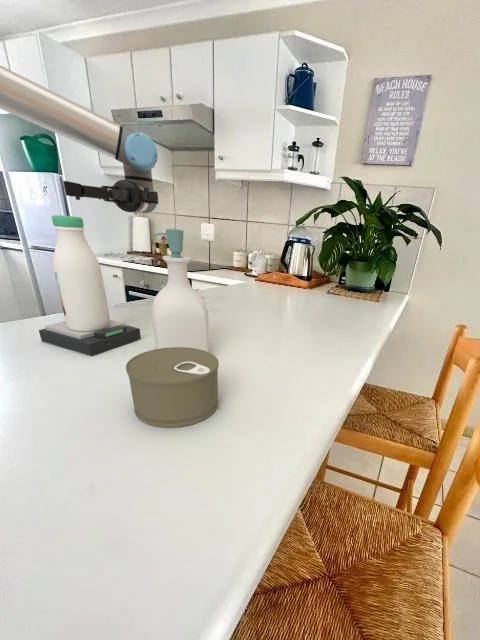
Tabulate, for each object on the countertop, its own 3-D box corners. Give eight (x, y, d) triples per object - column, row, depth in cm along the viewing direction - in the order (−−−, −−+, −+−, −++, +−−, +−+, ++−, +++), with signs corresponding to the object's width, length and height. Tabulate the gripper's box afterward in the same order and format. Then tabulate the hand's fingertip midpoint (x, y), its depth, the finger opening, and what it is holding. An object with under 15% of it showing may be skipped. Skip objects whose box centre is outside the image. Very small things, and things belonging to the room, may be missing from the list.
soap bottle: (158, 346, 67) (145, 225, 57) (205, 345, 70) (201, 229, 60) (157, 365, 59) (141, 227, 49) (210, 362, 62) (206, 232, 52)
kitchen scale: (41, 341, 65) (37, 325, 63) (94, 327, 75) (91, 312, 73) (91, 356, 60) (88, 339, 59) (141, 338, 70) (139, 323, 69)
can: (172, 380, 54) (169, 341, 51) (234, 397, 51) (234, 357, 47) (113, 413, 44) (104, 367, 41) (184, 438, 40) (180, 390, 37)
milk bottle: (119, 324, 68) (102, 218, 59) (91, 334, 61) (66, 217, 52) (88, 319, 70) (67, 215, 61) (57, 328, 63) (28, 213, 54)
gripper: (178, 216, 92) (162, 216, 73) (84, 208, 88) (42, 205, 70) (176, 185, 89) (158, 177, 70) (78, 176, 85) (32, 164, 66)
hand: (100, 191), depth 70 cm, fingers open, 13 cm apart
